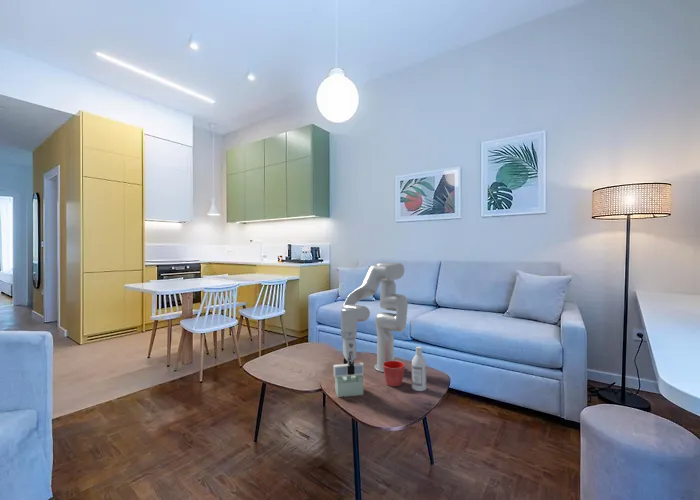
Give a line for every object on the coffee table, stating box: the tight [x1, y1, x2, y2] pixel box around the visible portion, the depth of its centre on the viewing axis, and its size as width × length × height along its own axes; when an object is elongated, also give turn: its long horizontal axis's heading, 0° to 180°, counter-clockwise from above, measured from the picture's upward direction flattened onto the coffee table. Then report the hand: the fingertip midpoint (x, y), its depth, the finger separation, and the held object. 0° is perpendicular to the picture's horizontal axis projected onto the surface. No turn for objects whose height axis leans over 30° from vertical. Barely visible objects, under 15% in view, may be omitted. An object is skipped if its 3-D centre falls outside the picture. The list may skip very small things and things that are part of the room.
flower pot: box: [383, 360, 406, 387], centre depth 159 cm, size 11×11×10 cm
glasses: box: [333, 362, 365, 378], centre depth 149 cm, size 14×3×5 cm, turn 101°
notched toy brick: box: [334, 375, 364, 398], centre depth 149 cm, size 12×8×8 cm, turn 101°
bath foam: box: [411, 346, 427, 392], centre depth 153 cm, size 7×7×20 cm
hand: (348, 370), depth 149 cm, fingers open, 9 cm apart
